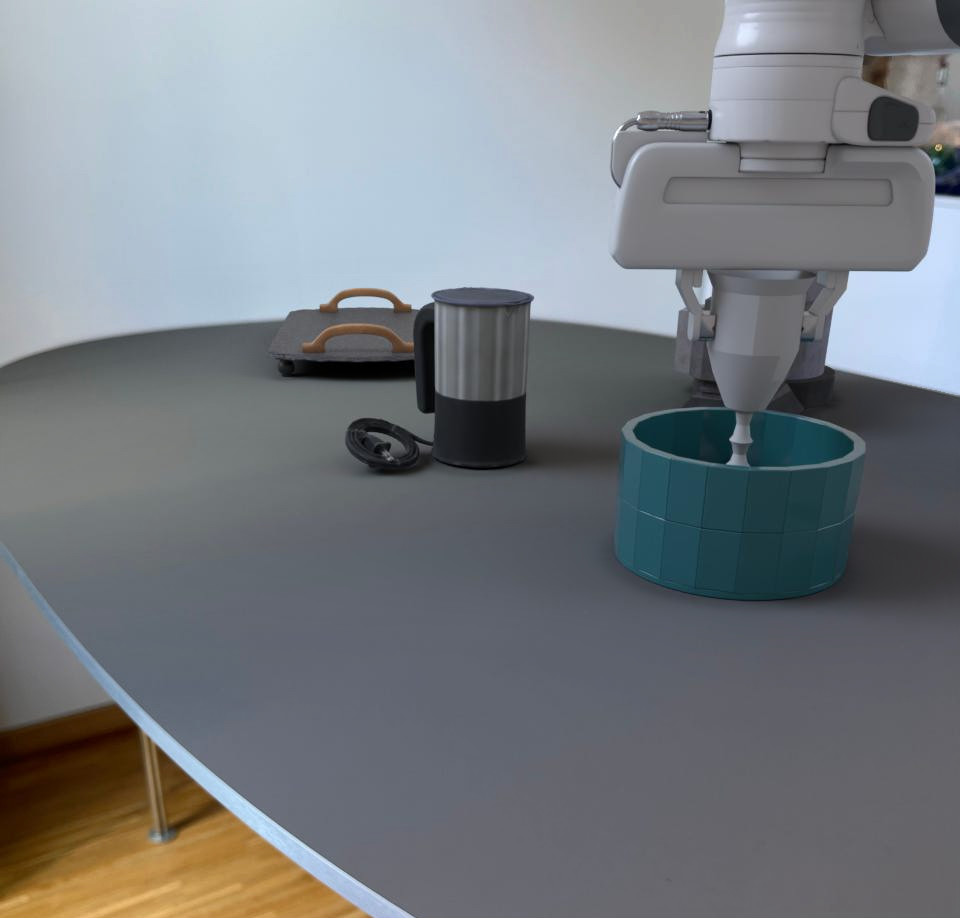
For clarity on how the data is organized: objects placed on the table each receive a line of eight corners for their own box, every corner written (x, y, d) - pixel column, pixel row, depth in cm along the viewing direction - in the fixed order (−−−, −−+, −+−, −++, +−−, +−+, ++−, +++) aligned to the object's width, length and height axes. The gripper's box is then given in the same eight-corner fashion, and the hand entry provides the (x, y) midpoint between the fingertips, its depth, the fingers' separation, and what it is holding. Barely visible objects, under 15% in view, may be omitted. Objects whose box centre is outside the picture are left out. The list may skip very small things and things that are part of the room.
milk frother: (547, 453, 102) (553, 292, 96) (451, 494, 91) (451, 314, 84) (428, 430, 110) (427, 279, 103) (325, 466, 98) (316, 298, 91)
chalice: (661, 526, 79) (684, 270, 71) (719, 508, 83) (747, 263, 75) (741, 555, 74) (776, 282, 66) (800, 534, 78) (839, 274, 70)
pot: (807, 518, 86) (824, 408, 82) (877, 601, 71) (902, 471, 67) (602, 516, 86) (610, 405, 82) (629, 599, 71) (640, 468, 67)
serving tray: (291, 326, 163) (289, 284, 161) (442, 326, 165) (442, 284, 162) (262, 382, 129) (258, 329, 126) (454, 381, 130) (454, 329, 128)
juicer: (713, 371, 137) (735, 163, 127) (842, 384, 131) (877, 167, 121) (645, 424, 113) (666, 171, 102) (799, 443, 107) (839, 177, 96)
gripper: (619, 109, 63) (605, 347, 69) (964, 113, 63) (919, 350, 69) (607, 110, 69) (595, 330, 75) (923, 113, 69) (886, 333, 75)
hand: (754, 340), depth 72 cm, fingers closed on chalice, 6 cm apart
